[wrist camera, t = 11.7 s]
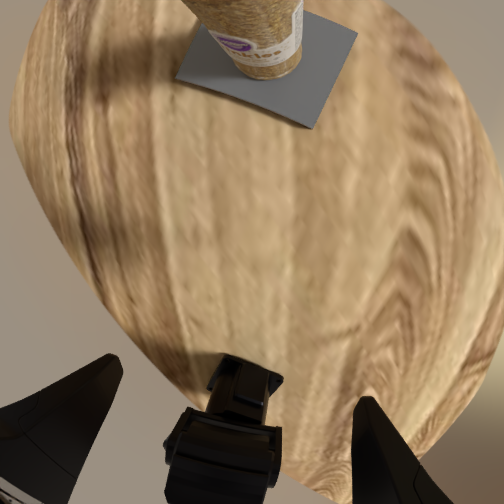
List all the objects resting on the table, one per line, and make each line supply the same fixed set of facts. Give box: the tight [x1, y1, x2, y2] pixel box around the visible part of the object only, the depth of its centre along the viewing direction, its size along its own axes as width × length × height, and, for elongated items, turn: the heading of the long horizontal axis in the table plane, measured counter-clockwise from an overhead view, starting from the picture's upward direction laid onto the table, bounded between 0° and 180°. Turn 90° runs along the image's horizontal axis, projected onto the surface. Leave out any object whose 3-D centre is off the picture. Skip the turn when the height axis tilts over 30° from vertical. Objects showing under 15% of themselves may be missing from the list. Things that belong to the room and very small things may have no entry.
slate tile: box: [175, 10, 358, 129], centre depth 14 cm, size 8×10×1 cm
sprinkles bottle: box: [181, 0, 303, 80], centre depth 8 cm, size 5×5×14 cm
